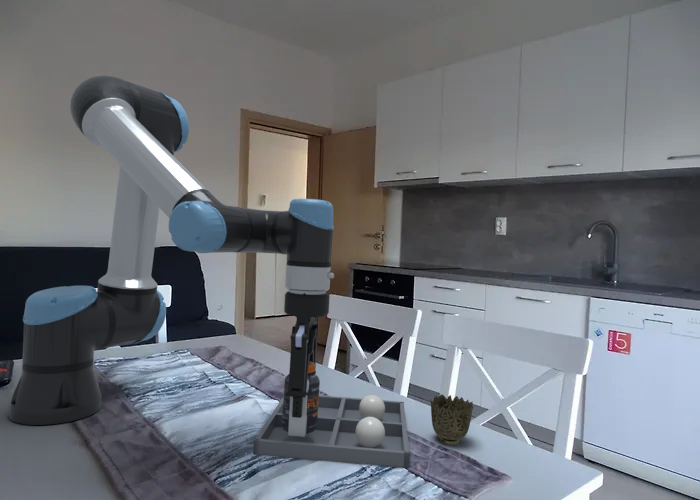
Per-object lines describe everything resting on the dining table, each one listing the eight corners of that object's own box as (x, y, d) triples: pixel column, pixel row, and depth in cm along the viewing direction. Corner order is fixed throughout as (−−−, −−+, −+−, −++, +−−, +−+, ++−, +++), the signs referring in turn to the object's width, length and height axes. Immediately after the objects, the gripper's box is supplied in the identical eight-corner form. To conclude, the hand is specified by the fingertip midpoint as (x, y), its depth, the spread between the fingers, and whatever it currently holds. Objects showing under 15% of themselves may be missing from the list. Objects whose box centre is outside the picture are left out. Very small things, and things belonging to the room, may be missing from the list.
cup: (462, 458, 81) (465, 411, 81) (421, 446, 85) (424, 401, 85) (476, 444, 87) (478, 400, 87) (437, 433, 91) (440, 391, 91)
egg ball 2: (353, 452, 79) (355, 421, 79) (355, 439, 84) (356, 411, 84) (384, 454, 79) (385, 424, 79) (384, 442, 84) (385, 413, 84)
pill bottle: (311, 438, 79) (315, 368, 78) (276, 433, 80) (280, 364, 80) (320, 424, 85) (324, 360, 84) (288, 420, 86) (292, 356, 85)
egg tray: (252, 460, 76) (254, 440, 76) (284, 408, 101) (285, 392, 101) (408, 474, 75) (409, 453, 75) (402, 417, 99) (403, 401, 99)
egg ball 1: (357, 425, 91) (359, 398, 91) (359, 415, 96) (360, 390, 96) (384, 427, 90) (385, 400, 90) (384, 417, 95) (385, 392, 95)
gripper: (322, 299, 72) (314, 453, 72) (335, 287, 91) (328, 409, 91) (272, 296, 73) (264, 449, 73) (295, 285, 91) (289, 406, 92)
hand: (300, 427), depth 82 cm, fingers closed on pill bottle, 6 cm apart
